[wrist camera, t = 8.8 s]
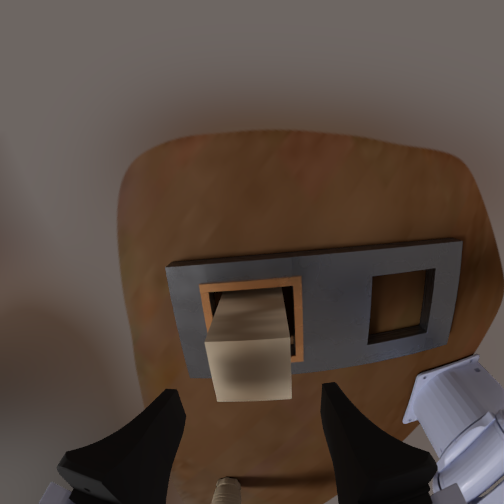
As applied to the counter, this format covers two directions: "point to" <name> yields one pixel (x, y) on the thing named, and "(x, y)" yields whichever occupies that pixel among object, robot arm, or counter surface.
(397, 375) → the counter surface
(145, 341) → the counter surface
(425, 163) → the counter surface
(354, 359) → the grey board with holes
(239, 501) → the handle
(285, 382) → the peg
